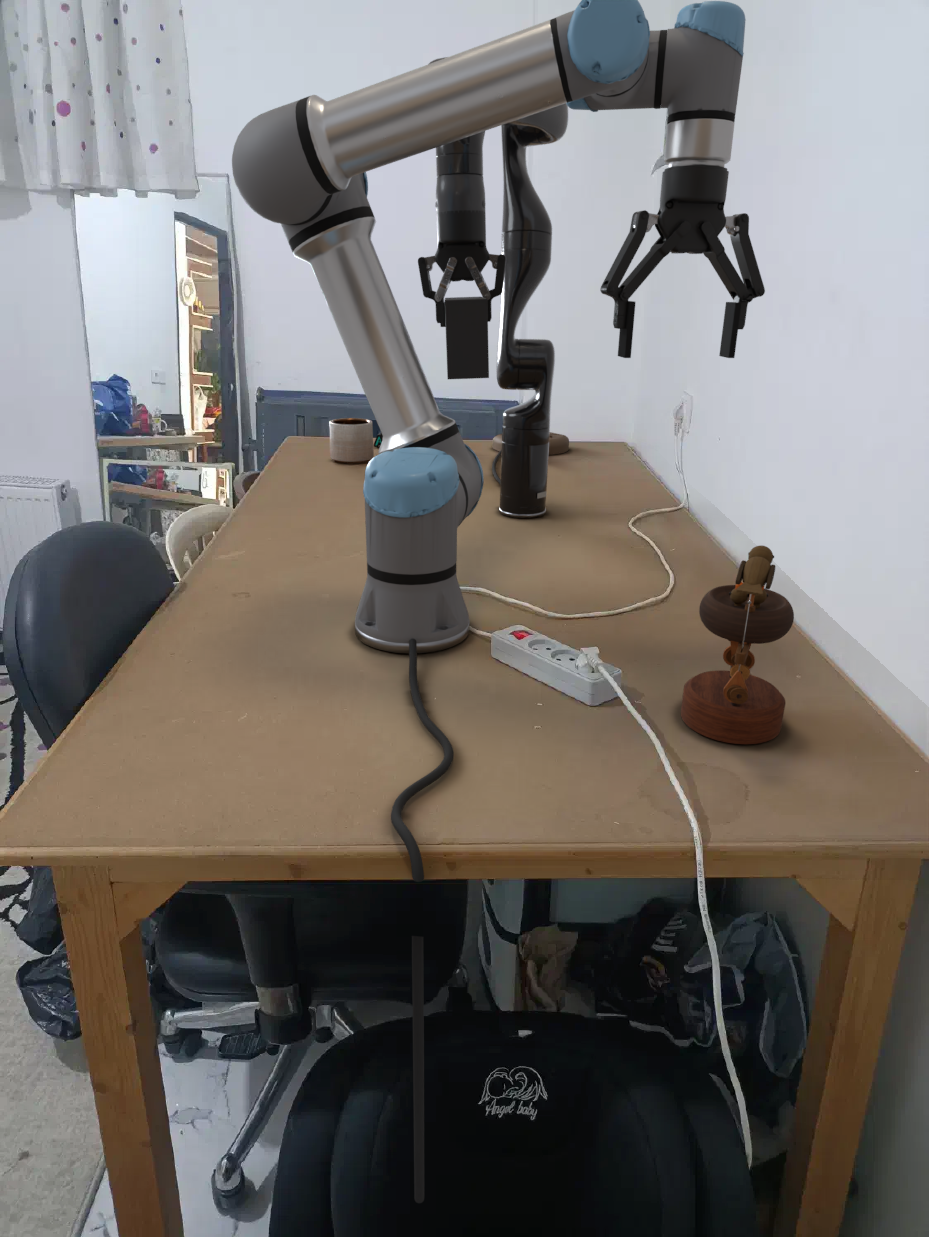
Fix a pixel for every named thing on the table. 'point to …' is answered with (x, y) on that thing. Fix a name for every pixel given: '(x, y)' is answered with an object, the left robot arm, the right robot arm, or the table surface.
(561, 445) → the brown flat rounded piece
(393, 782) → the table surface
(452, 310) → the box
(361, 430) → the planter
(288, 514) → the table surface
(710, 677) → the music box
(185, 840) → the table surface
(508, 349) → the right robot arm
